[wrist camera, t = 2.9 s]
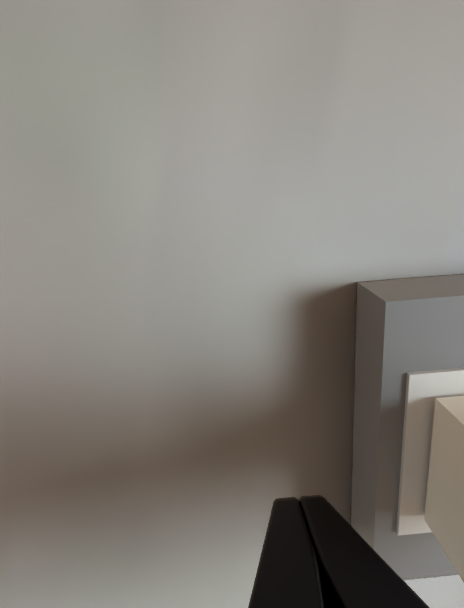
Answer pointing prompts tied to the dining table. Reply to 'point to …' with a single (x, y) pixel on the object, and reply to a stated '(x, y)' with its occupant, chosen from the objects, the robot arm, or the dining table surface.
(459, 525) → the block
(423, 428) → the breaker panel
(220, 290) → the dining table surface
